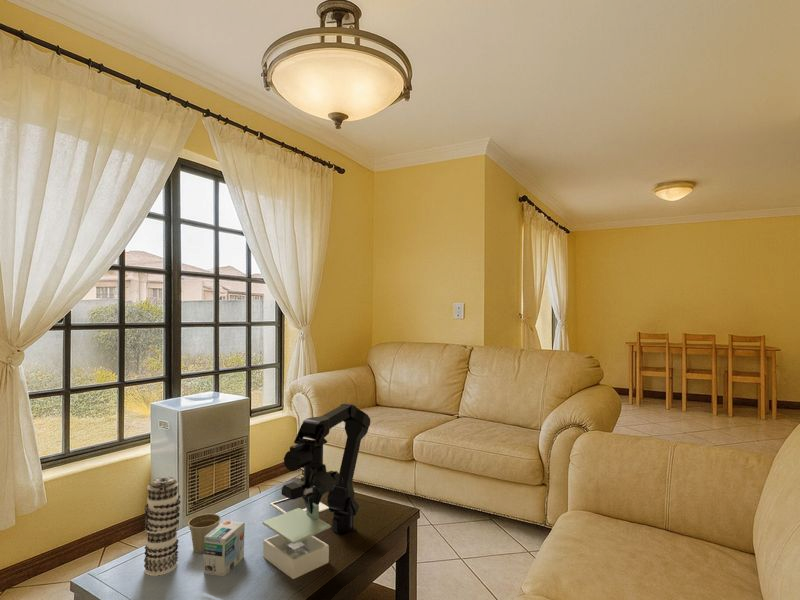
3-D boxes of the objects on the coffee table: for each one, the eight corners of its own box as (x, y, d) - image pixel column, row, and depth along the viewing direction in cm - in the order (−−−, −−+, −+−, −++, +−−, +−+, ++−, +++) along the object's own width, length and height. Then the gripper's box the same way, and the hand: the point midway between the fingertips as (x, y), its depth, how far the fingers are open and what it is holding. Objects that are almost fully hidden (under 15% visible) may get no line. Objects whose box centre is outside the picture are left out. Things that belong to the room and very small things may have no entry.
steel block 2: (294, 561, 135) (294, 552, 135) (305, 564, 134) (305, 555, 134) (285, 567, 132) (285, 559, 132) (296, 571, 130) (297, 562, 130)
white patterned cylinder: (186, 561, 135) (188, 475, 136) (163, 579, 126) (165, 487, 127) (159, 556, 138) (161, 472, 138) (135, 574, 128) (137, 483, 129)
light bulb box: (224, 578, 127) (225, 539, 127) (202, 575, 128) (203, 536, 129) (245, 558, 137) (245, 521, 138) (224, 555, 139) (225, 519, 139)
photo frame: (295, 518, 162) (270, 502, 175) (294, 522, 162) (270, 505, 175) (329, 507, 172) (303, 492, 185) (329, 510, 172) (303, 495, 185)
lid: (298, 512, 147) (298, 495, 147) (330, 530, 135) (330, 511, 135) (262, 526, 138) (262, 508, 138) (293, 547, 126) (293, 527, 126)
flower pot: (195, 560, 136) (196, 530, 136) (182, 548, 142) (182, 520, 143) (225, 548, 143) (226, 520, 143) (211, 537, 149) (212, 510, 149)
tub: (297, 544, 146) (298, 526, 146) (328, 564, 135) (328, 545, 135) (263, 558, 137) (263, 540, 137) (293, 581, 126) (293, 561, 126)
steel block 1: (297, 548, 142) (297, 539, 142) (305, 553, 140) (305, 544, 140) (286, 552, 140) (286, 544, 140) (293, 558, 137) (293, 549, 137)
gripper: (302, 475, 128) (301, 532, 128) (354, 460, 142) (353, 511, 141) (281, 465, 136) (280, 519, 136) (331, 452, 150) (331, 500, 149)
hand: (312, 512), depth 140 cm, fingers closed on lid
